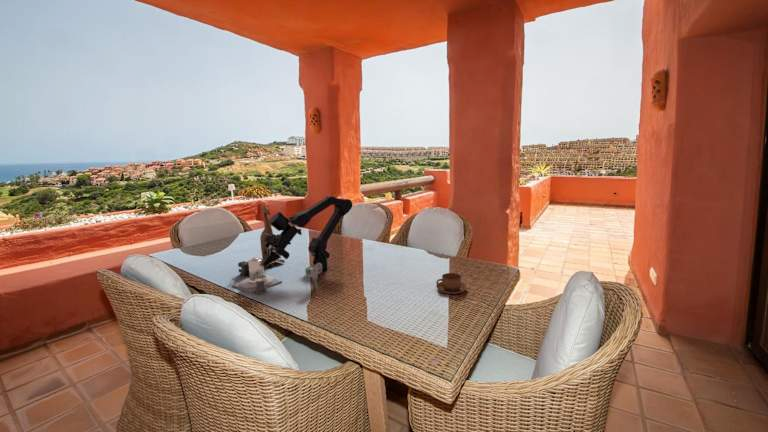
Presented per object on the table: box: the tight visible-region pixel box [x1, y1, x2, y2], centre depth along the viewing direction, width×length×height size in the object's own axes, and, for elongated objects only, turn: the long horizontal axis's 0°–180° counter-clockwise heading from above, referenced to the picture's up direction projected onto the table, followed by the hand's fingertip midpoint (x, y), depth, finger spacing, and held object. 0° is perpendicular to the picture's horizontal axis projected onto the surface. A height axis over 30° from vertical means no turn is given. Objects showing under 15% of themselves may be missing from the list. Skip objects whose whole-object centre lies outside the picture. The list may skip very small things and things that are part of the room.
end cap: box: [237, 260, 264, 278], centre depth 166 cm, size 10×7×7 cm
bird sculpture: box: [259, 203, 286, 269], centre depth 178 cm, size 11×12×32 cm
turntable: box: [231, 275, 283, 294], centre depth 152 cm, size 15×15×2 cm
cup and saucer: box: [435, 272, 467, 295], centre depth 139 cm, size 12×12×6 cm
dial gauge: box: [254, 277, 268, 296], centre depth 142 cm, size 4×4×6 cm
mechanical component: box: [304, 263, 323, 290], centre depth 144 cm, size 3×10×10 cm, turn 161°
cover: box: [247, 257, 267, 284], centre depth 151 cm, size 8×8×10 cm
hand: (263, 265), depth 153 cm, fingers closed
